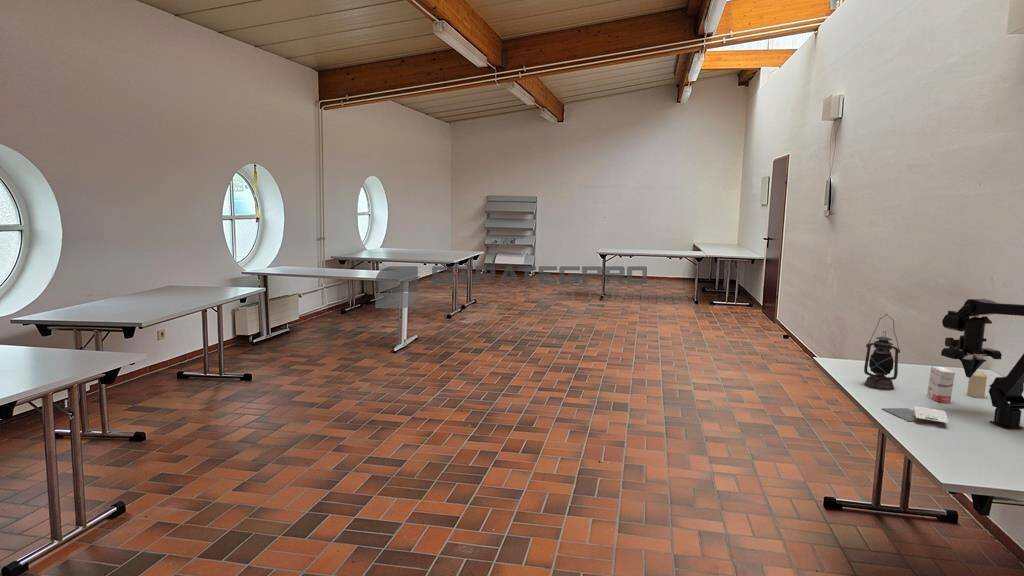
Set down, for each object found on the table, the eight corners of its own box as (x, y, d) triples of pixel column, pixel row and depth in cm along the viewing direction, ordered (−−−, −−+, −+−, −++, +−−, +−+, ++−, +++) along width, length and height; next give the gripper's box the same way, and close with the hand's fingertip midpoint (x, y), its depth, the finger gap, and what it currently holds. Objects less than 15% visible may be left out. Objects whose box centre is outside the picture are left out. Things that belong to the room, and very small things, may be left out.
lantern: (857, 385, 253) (864, 312, 249) (867, 381, 260) (874, 310, 256) (891, 392, 244) (899, 317, 240) (900, 388, 251) (908, 314, 247)
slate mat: (935, 421, 210) (935, 420, 210) (908, 421, 209) (908, 420, 209) (907, 409, 223) (907, 408, 223) (881, 409, 222) (881, 408, 222)
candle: (968, 396, 241) (971, 371, 240) (965, 393, 246) (968, 368, 245) (985, 399, 239) (988, 373, 237) (982, 395, 244) (985, 370, 242)
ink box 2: (944, 417, 213) (947, 430, 203) (912, 412, 217) (914, 425, 208) (946, 409, 212) (949, 422, 202) (913, 404, 217) (915, 417, 207)
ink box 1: (951, 403, 232) (955, 372, 230) (936, 402, 233) (940, 371, 231) (940, 396, 240) (944, 366, 239) (926, 395, 241) (929, 365, 240)
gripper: (978, 330, 228) (973, 371, 230) (931, 329, 226) (926, 371, 228) (1005, 336, 217) (999, 379, 219) (956, 335, 215) (951, 379, 217)
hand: (968, 377), depth 221 cm, fingers closed
